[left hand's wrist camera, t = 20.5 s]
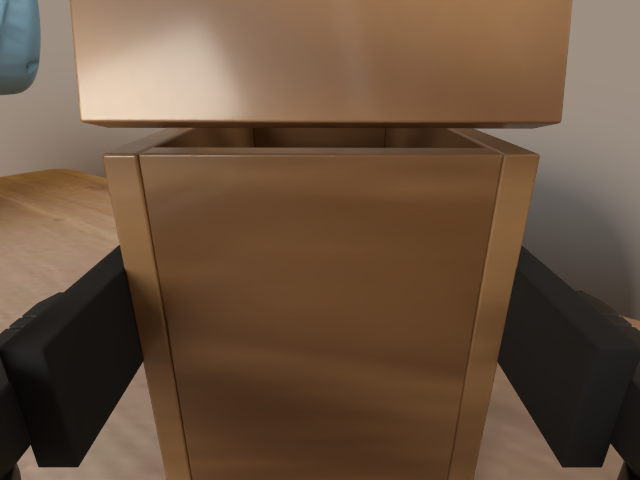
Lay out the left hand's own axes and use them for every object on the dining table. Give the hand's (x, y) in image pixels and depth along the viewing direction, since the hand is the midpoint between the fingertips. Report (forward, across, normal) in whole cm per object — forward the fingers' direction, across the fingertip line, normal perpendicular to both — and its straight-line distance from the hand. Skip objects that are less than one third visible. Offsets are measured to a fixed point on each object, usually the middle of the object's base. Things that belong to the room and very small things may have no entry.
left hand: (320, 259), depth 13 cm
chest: (+5, 0, -7) cm, 9 cm away
